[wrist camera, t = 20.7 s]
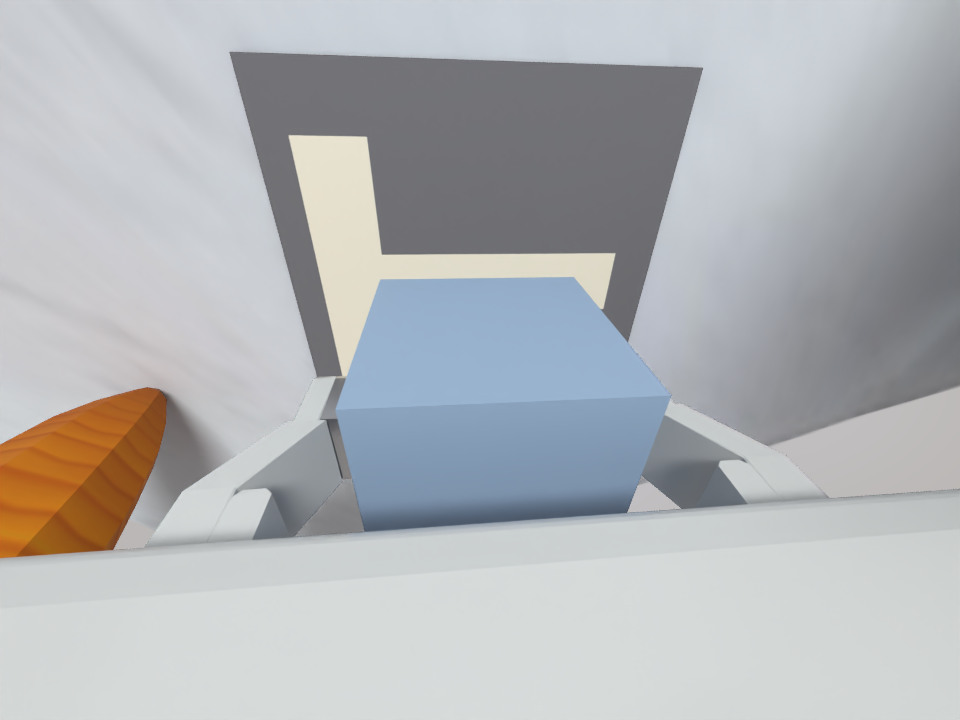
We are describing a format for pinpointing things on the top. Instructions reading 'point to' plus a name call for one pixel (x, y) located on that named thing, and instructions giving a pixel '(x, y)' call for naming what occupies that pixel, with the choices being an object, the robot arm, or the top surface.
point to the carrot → (79, 475)
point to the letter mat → (460, 176)
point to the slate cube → (494, 405)
